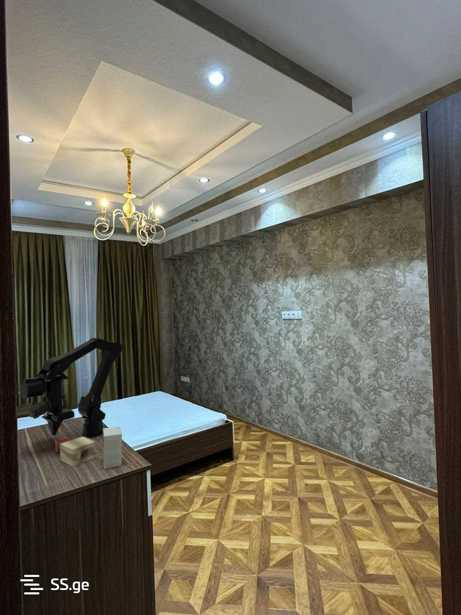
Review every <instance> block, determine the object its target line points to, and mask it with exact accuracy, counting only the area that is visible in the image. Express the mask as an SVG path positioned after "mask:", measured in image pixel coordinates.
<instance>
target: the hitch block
mask: <svg viewBox="0 0 461 615" xmlns="http://www.w3.org/2000/svg"><path fill="white" fill-rule="evenodd" d="M96 444H97V442H96V441H95V440H92V439H91V438H89V437H87V436H80V437H76V438H74V439H70V440H69V441H68V442H64V443H61V444H60V452H59V456H60V457H59V458H60V459H59V461H61V462H63V463H65V464H66V465H69V466H71V467H75V466H78V465H81V464H83V463H85V462H88V461H90V460H93V459H95V458H97V456H96V452H97V451H96V450H97V449H96ZM81 451H83V454H82V455H80V452H81Z"/></svg>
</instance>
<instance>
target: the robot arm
mask: <svg viewBox="0 0 461 615" xmlns="http://www.w3.org/2000/svg"><path fill="white" fill-rule="evenodd" d="M96 349H98V350H101V351H100V358H101V360H100V363H99V365H98V367H97V370H96V373H95V375H94V379H93V381H92V384H91V385H90V389H89V392H88V393H86V395H85V396H83V395H82V396H80V401H79V403H78V404H77V407H78V408H77V411H78V413H79V415H80V416H81V418H82V419H84V420H83V422H84V424H82V425H83V426H82V427H83V428H82V430H83V431H82V433H81V435H82V436H84V437H86V438H89V439H91V438H94V437H97V436H100V435H103V421H104V420H105V418H106V415H107V414H106V413H105V412H104V411H103V410H102V409H101V407H102V399H101V398H102V396H101V395H102V393H103V390H104V387H105V385H106V383H107V380H108V377H109V376H110V372H111V370H112V367H113V365H114V363H115V361H116V360H117V359H118V358H119V357H120V355H121V354H122V351H123V345H122V343H121V342H119V341H113V340H105V339H102V338H100V337H91V338H90V339H89V340H87V341H85V342H83V343H82V344H80V345H78V346H76V347H75V348H73V349H71V350H69V351H67V352H66V353H64V354H61V355H56V356H53V357H50V358H48V359H46V360H45V361H44V362H43V365H42V367H41V369H40V371H39V372H38V373H37V375H36V376H35V377H30V378H29V377H28V378H23V380H22V381H23V382H22V383H21V385H20V397H22V398H23V400H24V399H30V398H35V397H40V396H42V397H41V401H38V402H37V403H35V404H33V405H31V406H29V407H28V408H27V409H26V412H27V413H28V415H29V417H30V418H32V419H33V420H34V419H35V420H36V419H38V418H39V417H40V416H41V418H42V419H43V420H45V421H46V422H47V424H48V429H49V431H50V434H51V435H52V436H56V435H57V433H58V431H59V429H60V427H61V425H62V423H63V422H64V421H67V420H72V419H74V418H75V411H74V410H72V409H69V408H66V406H65V405H63V404H64V402H63V401H64V400H63V399H65V398H66V394H64V392H63V390H64V389H63V381H64V380H69V377H68V376H67V375H66V374H65V372H66V371H67V370H68V369H69V368H70V366H71V365H72V364H73V363H75V362H77V361H78V360H79V359H81V358H83V357H84V356H87V355H88V354H90V353H91V352H93V351H94V350H96Z"/></svg>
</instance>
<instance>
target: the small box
mask: <svg viewBox="0 0 461 615" xmlns="http://www.w3.org/2000/svg"><path fill="white" fill-rule="evenodd" d="M102 431H103V434H102V464H103V470H108V469H112V467H113V468H117V467H116V466H119V467H121V465H123V464H122V463H123V462H122V461H123V458H122V456H123V454H122V453H123V446H122V445H123V434H122V430H121V426H119V425H118V426H112V427H104V428H103V427H102ZM107 468H108V469H107Z"/></svg>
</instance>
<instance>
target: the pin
mask: <svg viewBox="0 0 461 615" xmlns="http://www.w3.org/2000/svg"><path fill="white" fill-rule="evenodd" d="M68 441H70V439H69V436H63V437H61V438H58V439H55V441H54V445H55V446H54V450H55V453H60V444H61V443H64V442H68ZM82 454H83V451H81V452H80V455H82Z"/></svg>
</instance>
